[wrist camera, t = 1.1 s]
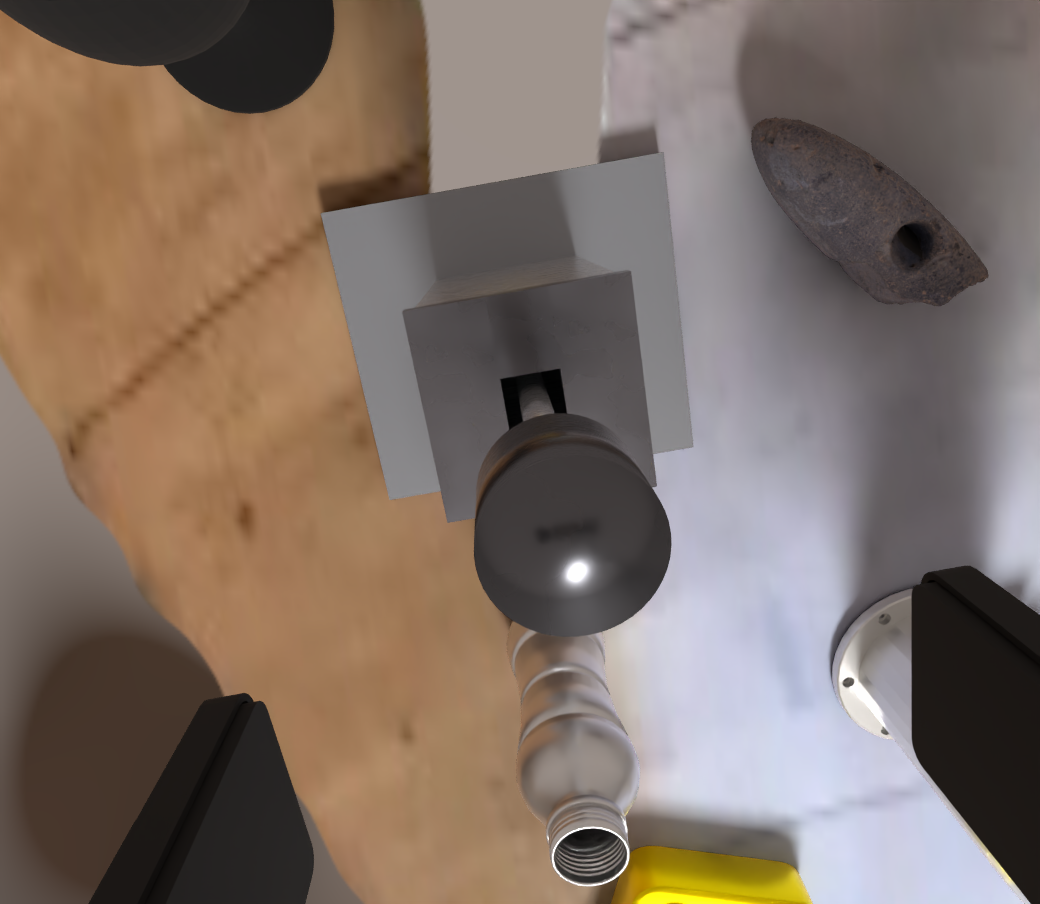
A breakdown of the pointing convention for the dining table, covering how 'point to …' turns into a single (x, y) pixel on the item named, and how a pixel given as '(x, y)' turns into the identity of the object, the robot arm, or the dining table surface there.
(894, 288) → the perforated stone tool
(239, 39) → the wine glass
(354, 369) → the dining table surface
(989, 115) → the dining table surface
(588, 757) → the plastic bottle
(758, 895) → the element tile
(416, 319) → the grey block
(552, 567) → the dark grey cylinder
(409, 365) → the grey board
